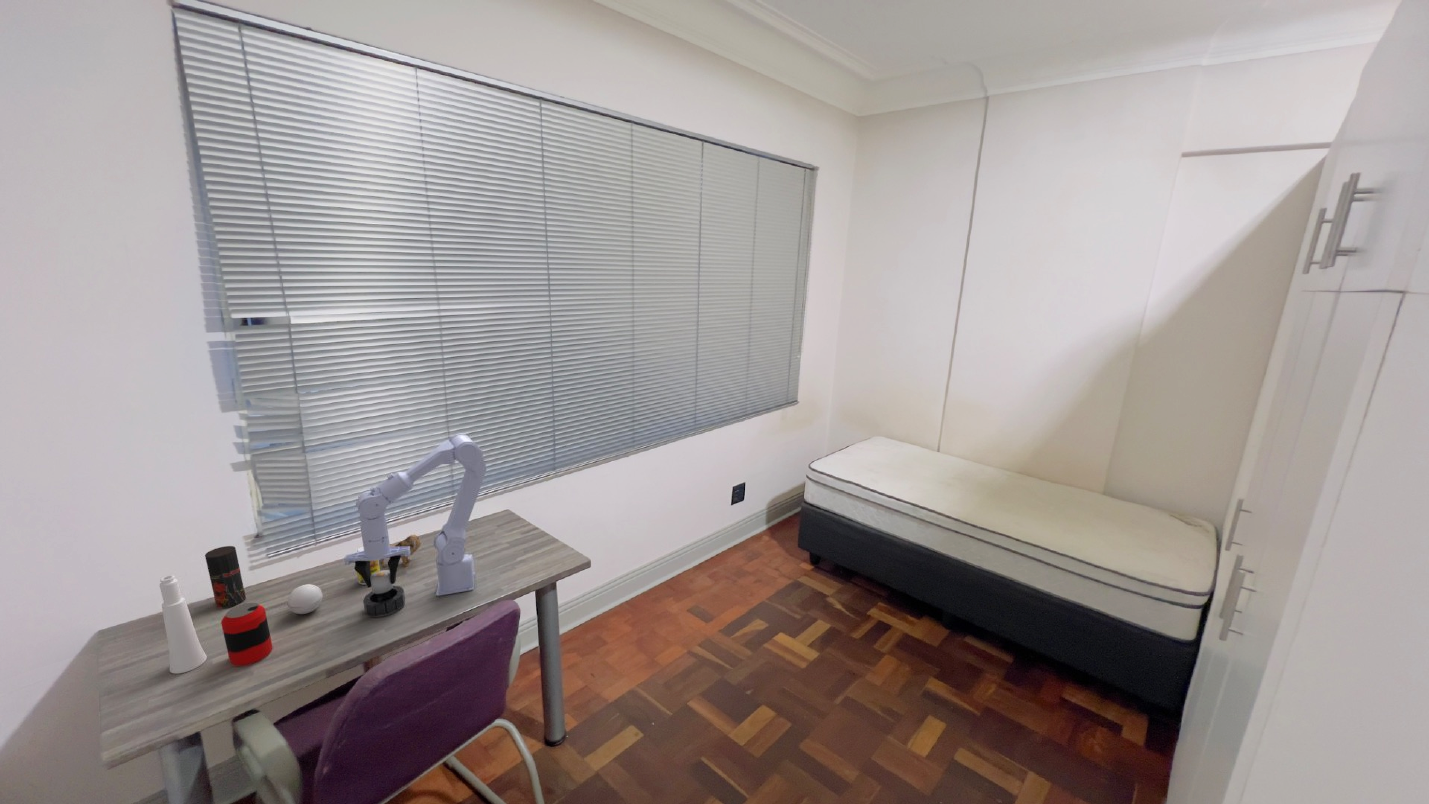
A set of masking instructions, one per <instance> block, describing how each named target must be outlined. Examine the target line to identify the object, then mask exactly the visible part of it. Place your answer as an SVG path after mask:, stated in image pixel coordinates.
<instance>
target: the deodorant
mask: <svg viewBox="0 0 1429 804" xmlns="http://www.w3.org/2000/svg"><path fill="white" fill-rule="evenodd" d="M236 549H237V548H236V547H235V546H233V545H226V546H221V547H215V548H213V549H211V550H209V551H208V552H206V553H205V555H204V557H205V561H206V567H207V570H208V575H209V580H210V585H211V588H212V592H213V597H214V601H215V606H216V608H217V609H219V610H223V609H231V608H234V607H236V606H239V605H241V604H242V603H243V602H244V601H245V600H246V599H247V596H246V592H245V588H244V582H243V578H242V574H241V573H242V572H241V568H240V564H239V558H238V554H237V550H236Z"/></svg>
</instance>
